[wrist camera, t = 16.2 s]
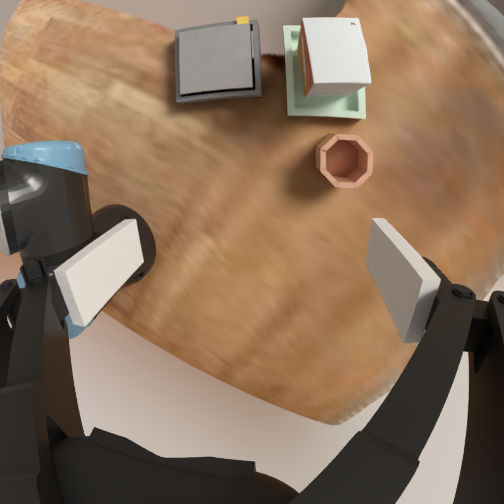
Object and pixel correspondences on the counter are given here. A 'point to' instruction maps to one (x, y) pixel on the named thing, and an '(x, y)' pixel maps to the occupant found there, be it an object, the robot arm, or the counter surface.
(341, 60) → the small box
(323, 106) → the mint green tray
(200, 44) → the grey flat square panel
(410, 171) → the counter surface
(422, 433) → the robot arm
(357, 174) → the cup
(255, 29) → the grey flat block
